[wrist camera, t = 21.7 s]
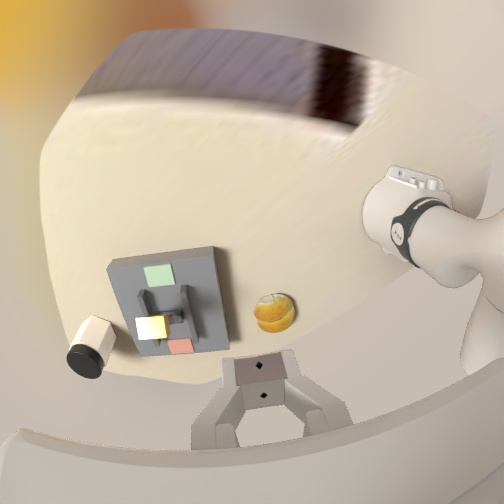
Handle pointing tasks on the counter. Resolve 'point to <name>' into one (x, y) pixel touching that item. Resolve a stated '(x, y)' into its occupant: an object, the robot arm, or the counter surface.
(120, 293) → the switch panel
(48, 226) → the counter surface
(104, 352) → the jar
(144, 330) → the breaker lever
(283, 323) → the bread roll
